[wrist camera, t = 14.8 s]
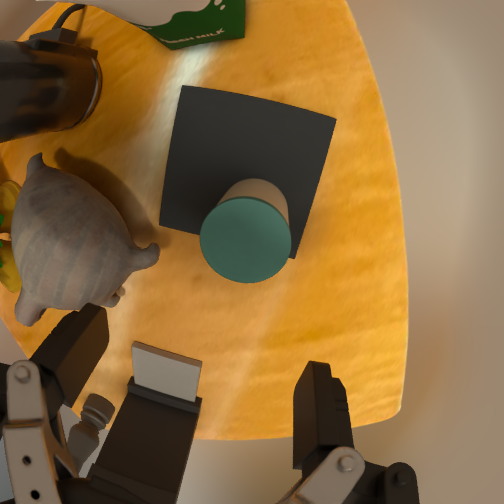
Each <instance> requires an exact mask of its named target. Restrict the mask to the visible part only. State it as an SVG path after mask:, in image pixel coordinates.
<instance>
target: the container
mask: <svg viewBox="0 0 504 504" xmlns="http://www.w3.org/2000/svg"><path fill="white" fill-rule="evenodd" d="M200 246H201V250H202V253H203V255H204V258H205V259H206V261H207V263H208V264H209V265H210V266H211V268H213V269H214V270H215V271H216V272H217V273H218V274H220V275H221V276H223V277H225V278H227V279H229V280H232V281H235V282H240V283H255V282H260V281H263V280H266V279H268V278H270V277H272V276H273V275H275V274H276V273H277V272H279V271H280V270H281V269H282V267H283V266H284V265H285V263H286V261H287V260H288V257H289V255H290V251H291V233H290V228H289V220H288V207H287V202H286V199H285V197H284V195H283V194H282V192H281V191H280V190H279V189H278V188H277V187H276V186H275V185H273V184H272V183H270V182H268V181H265V180H262V179H254V178H253V179H245V180H242V181H240V182H238V183H236V184H234V185H233V186H232V187H231V188H230V189H229V190H228V191H227V192H226V194H225V195H224V196H223V198H222V199H221V200H220V202H219V203H218V204H217V205H216V206H215V207H214V208H213V209H212V210H211V212H210V213H209V214H208V215H207V217H206V218H205V220H204V222H203V224H202V227H201V231H200Z"/></svg>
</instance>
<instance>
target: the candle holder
mask: <svg viewBox="0 0 504 504" xmlns="http://www.w3.org/2000/svg"><path fill="white" fill-rule="evenodd" d="M114 411H115V408H114V406H113V405H112V404H111V403H110V402H109V401H108V400H107V399H105V398H103V397H102V396H99V395H97V394H90V395H89V396H88V398H87V400H86V402H85V403H84V405H83V411H81V420H82V421H80V422H79V423H78V424H75V425H73V426H72V428H71V429H70V433H69V437H68V442H67V446H68V450H69V453H70V456H71V458H72V460H73V462H74V464H75V466H76V469H77V472H78V474H79V472H80V470H81V467H82V465H83V463H84V462H85V461H86V460H87V458H88V457H89V456H90V455H91V454H92V453H93V451H94V450H95V449H96V448H97V447H98V445H99V437H98V434H99V431H100V430H102V429H105V427H106V424H108V423H109V422H110V420H111V418H112V416H113V414H114Z"/></svg>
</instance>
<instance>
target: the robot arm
mask: <svg viewBox="0 0 504 504" xmlns="http://www.w3.org/2000/svg"><path fill="white" fill-rule="evenodd" d="M84 7H85V4H75V5H73V6H71V7H69V8H68V9H67V10H66V11H64V12H63V14H62V15H61V16H60V17H59V19H58V20H57V22H56V23H55V25H54V26H53V28H52V30H49V31H45V32H41V33H37V34H33V35H30V37H29V40H27V41H23V42H17V41H4V40H0V143H3V142H7V141H11V140H15V139H19V138H23V137H28V136H33V135H38V134H43V133H48V132H56V131H64V130H70V129H73V128H75V127H77V126H79V125H80V124H81V123H83V122H84V121H85V120H86V119H87V118H88V116H89V115H90V114H91V112H92V111H93V109H94V107H95V105H96V103H97V100H98V97H99V94H100V90H101V70H100V67H99V64H98V62H97V60H96V56H97V50H95V49H91V48H87V47H82V46H78V45H74V44H75V40H76V37H77V33H78V32H76V31H72V30H69V29H65V28H61V26H62V25H63V23H64V22H65V20H66V19H67V18H68V16H69V15H70V14H71V13H73V12H74V11H77V10H80V9H82V8H84ZM108 343H109V328H108V320H107V312H106V309H105V308H103V307H101V306H98V305H95V304H92V303H89V302H88V303H86V304H85V305H84V306H83V307H82V309H81V310H80V311H79V312H77V311H75V310H74V311H73V312H71V313H69V314H67V315H66V316H64V317H63V318H62V319H61V321H60V322H59V323H58V324H57V327H55V328H54V329H53V330H52V331H51V334H49V335H48V336H47V338H46V339H45V340H44V341H43V342H42V344H41V345H40V346H39V348H38V349H37V350H36V351H35V353H34V354H33V355H32V357H31V358H30V359H29V360H19V361H17V362H14V363H13V364H12V365H7V364H3V363H0V440H1V438H2V436H3V440H4V447H5V455H6V461H7V466H8V472H9V477H10V482H11V486H12V491H13V495H14V498H13V499H10V500H7V501H4V502H0V504H151V503H149V502H147V501H145V500H143V499H142V498H140V497H138V496H137V495H135V494H133V493H132V492H130V491H129V490H127V489H125V488H124V487H122V486H120V485H117V484H115V483H112V482H110V481H108V480H105V479H103V478H101V477H98V476H96V475H94V474H93V475H92V477H91V479H90V478H79V475H78V472H77V469H76V466H75V464H74V462H73V460H72V458H71V456H70V453H69V450H68V446H67V443H66V438H65V434H64V430H63V425H62V420H61V415H60V411H59V409H60V407H61V406H62V404H64V405H66V406H68V407H70V408H72V406H73V404H74V403H75V401H76V399H77V397H78V396H79V394H80V392H81V390H82V389H83V387H84V385H85V383H86V382H87V380H88V378H89V377H90V375H91V373H92V372H93V370H94V368H95V367H96V365H97V363H98V362H99V360H100V358H101V357H102V355H103V354H104V352H105V350H106V348H107V346H108ZM348 410H349V408H348V403H347V396H346V390H345V388H344V386H343V384H342V383H341V381H340V379H339V378H333V377H332V375H331V368H330V365H329V364H328V363H322V362H316V361H309V362H308V364H307V365H306V367H305V369H304V371H303V373H302V375H301V376H300V378H299V380H298V382H297V384H296V386H295V390H294V395H293V469H298V470H299V469H300V470H302V477H301V478H300V479H299V480H298V482H297V483H296V484H295V485H294V486H293V487H292V488H291V489H290V490H289V491H288V492H287V493H286V494H285V495H284V496H283V497H282V498H281V499H280V500H279V501H278V502H277V503H276V504H420V503H419V494H418V486H417V479H416V474H415V471H414V470H413V469H412V467H411V466H409V465H408V464H406V463H402V462H397V463H394V464H392V465H390V466H389V467H384V466H380V465H377V464H373V463H370V462H367V461H365V460H364V459H363V457H362V455H361V454H360V453H359V452H358V451H357V450H355V448H354V444H353V438H352V437H353V436H352V430H351V422H350V415H349V412H348Z"/></svg>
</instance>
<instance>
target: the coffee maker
mask: <svg viewBox="0 0 504 504" xmlns="http://www.w3.org/2000/svg"><path fill="white" fill-rule="evenodd" d="M132 359H133V371H134V377H133V376H131V378H130V380H129V382H128V384H127V387H128V393H127V395H126V397H125V399H124V401H123V403H122V405H121V408H120V410H119V412H118V414H117V416H116V418H115V420H114V422H113V424H112V427H111V429H110V431H109V433H108V435H107V437H106V440H105V442H104V444H103V446H102V449H101V451H100V453H99V456H98V458H97V460H96V462H95V464H94V463H92V465H91V468H90V470H89V472H88V475H87V477H86V478H90V479H91V477H92V475H93V474H94V475H96V476H98V477H101V478H103V479H105V480H108V481H110V482H112V483H115V484H117V485H120V486H122V487H124V488H125V489H127V490H129V491H130V492H132V493H133V494H135V495H137V496H138V497H140V498H142V499H143V500H145V501H147V502H149V503H151V504H176V502H177V498H178V495H179V491H180V487H181V483H182V479H183V475H184V471H185V468H186V464H187V460H188V456H189V452H190V448H191V445H192V441H193V437H194V433H195V430H196V426H197V421H198V417H199V412H200V407H201V402H202V398H199V397H196V395H197V389H198V383H199V377H200V372H201V366H202V361H198V360H194V359H191V358H187V357H184V356H180V355H177V354H174V353H170V352H167V351H164V350H161V349H158V348H154V347H151V346H148V345H145V344H142V343H139V342H136V341H134V343H133V345H132Z"/></svg>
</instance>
